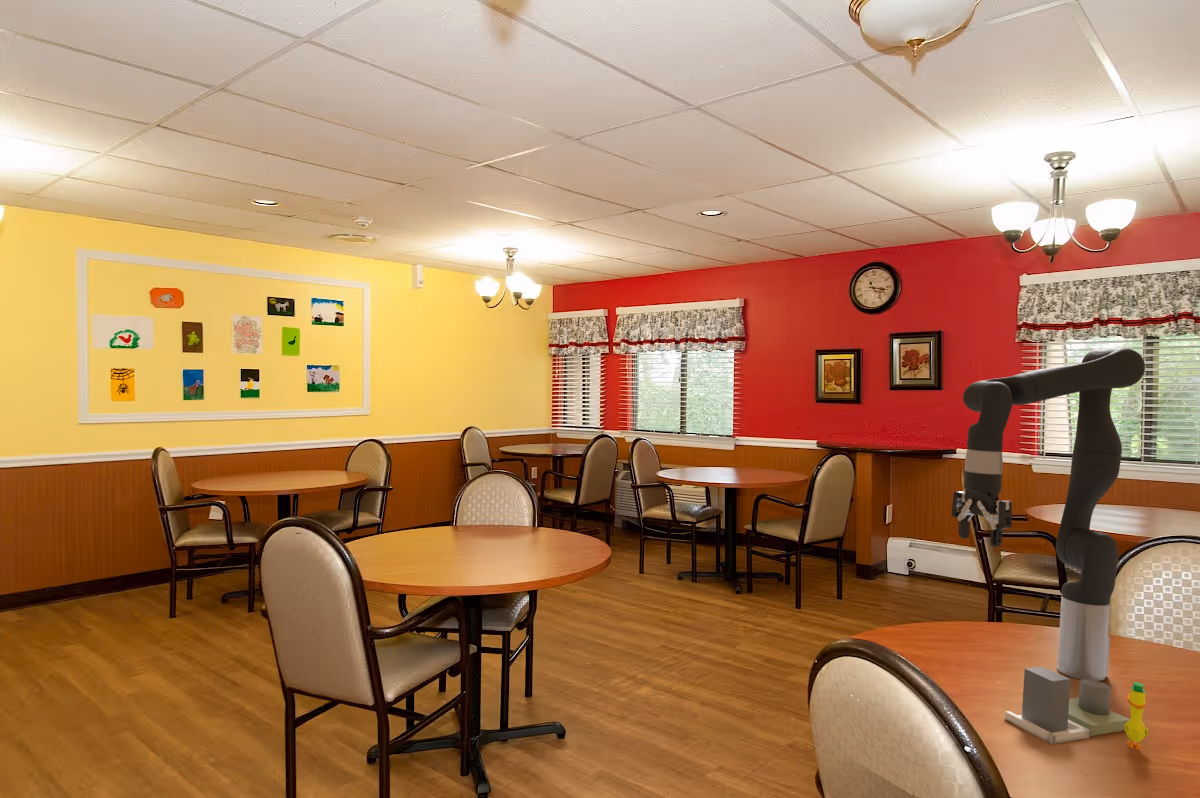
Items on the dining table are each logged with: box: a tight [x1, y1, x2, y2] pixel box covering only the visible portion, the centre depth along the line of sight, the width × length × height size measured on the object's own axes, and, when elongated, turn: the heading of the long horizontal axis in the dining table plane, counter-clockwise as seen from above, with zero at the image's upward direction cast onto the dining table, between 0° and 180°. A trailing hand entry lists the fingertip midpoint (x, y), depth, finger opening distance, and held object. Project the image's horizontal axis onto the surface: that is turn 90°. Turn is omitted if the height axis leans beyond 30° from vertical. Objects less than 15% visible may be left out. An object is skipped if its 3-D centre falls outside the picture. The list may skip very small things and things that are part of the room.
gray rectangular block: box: [1021, 666, 1071, 733], centre depth 139 cm, size 4×6×10 cm
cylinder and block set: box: [1004, 679, 1131, 745], centre depth 140 cm, size 21×10×7 cm, turn 109°
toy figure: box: [1124, 681, 1150, 751], centre depth 132 cm, size 7×4×12 cm, turn 153°
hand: (979, 541), depth 163 cm, fingers open, 8 cm apart
